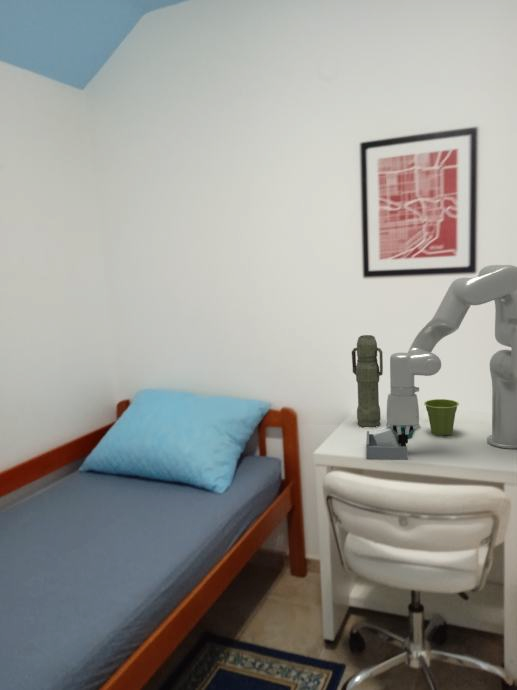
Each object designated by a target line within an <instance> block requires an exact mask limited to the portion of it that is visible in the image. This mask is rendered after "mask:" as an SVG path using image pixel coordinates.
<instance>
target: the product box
mask: <svg viewBox="0 0 517 690" xmlns="http://www.w3.org/2000/svg"><path fill="white" fill-rule="evenodd" d="M373 434H374V435H373V436H374V439H375V441H376V444H377V446H385V447H401V445H400V443H399V442H398V438H397V435H396V433H395V430H394V429H392V428H387V427H386V426H385V427H382V428H379V429H376V430H375V432H374V433H373Z"/></svg>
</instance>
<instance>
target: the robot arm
mask: <svg viewBox="0 0 517 690" xmlns="http://www.w3.org/2000/svg"><path fill="white" fill-rule="evenodd" d="M492 301H494V305H495V306H494V307H495V314H494V316H495V317H494V319H495V320H494V337H495V340H496V342H497V343H499V344H500V345H501V346H505V347H508V348H511V349H499V350H498V351H496V352H495V353H493V355H492V356H491V357H490V360H489V373H490V379H491V387H492V390H491V392H492V393H491V396H492V397H491V398H492V399H491V405H492V406H491V435H489V436H487V438H486V441H487V443H488V444H489V445H492V446H493V447H498V448H502V449H510V450H511V449H517V266H515V265H512V264H490V265H487V266H484V267H483V268H480V270H479V272H478V275H477V276H476V277H460V278H459V277H458V278H456V279H454V280H453V281H452V282H451V284H450V285H449V287H448V289H447V290H446V292H445V295H444V296H443V298H442V300H441V302H440V304H439V306H438V308H437V310H436V312H435V314H434V315H433V316H432V318H431V320H429V321H428V322H427V323H426V325H425V326H423V328H422V329H421V330H420V331H419V332H418V334H417V335H416V336H415V337H414V339H413V341H412V344H411V345H410V347H409V348H408V351H407V352H395V353H392V354H391V355H390V358H389V372H390V373H389V377H390V379H389V380H390V383H389V384H390V386H389V387H390V393H388V395H387V400H386V425H385V427H387V428H392V429H394V430H395V431H396V432H397V433H398V442H399V443H401V446H400V447H407V444H408V443H409V439H408V434H409V433H410V432H411V431H412V430H413V429H415V430H418V429H420V428H421V425H420V412H419V411H420V410H419V409H420V408H419V400H418V394H416V393H417V392H420V387H418V386H416V385H415V376H424V377H430V376H434V375H436V374H437V373H439V372H440V370H441V368H442V361H441V358H440V357H439V356H438V355H436V354H435V353H433V352H432V351H433V350H434V349H435V347H436V345H438V343H439V342H440V341H441V340H443V338H446V337H447V336H450V335H451V334H453V333H455V332H456V331H458V329H459V328H460V326H461V324H462V323H463V320H464V318H465V317H466V315H467V313H468V311H469V309H470V308H471V306H481V305H484V304H486V303H489V302H492ZM400 426H405V431H404V433H402V431H401V427H400ZM403 445H404V446H403Z"/></svg>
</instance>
